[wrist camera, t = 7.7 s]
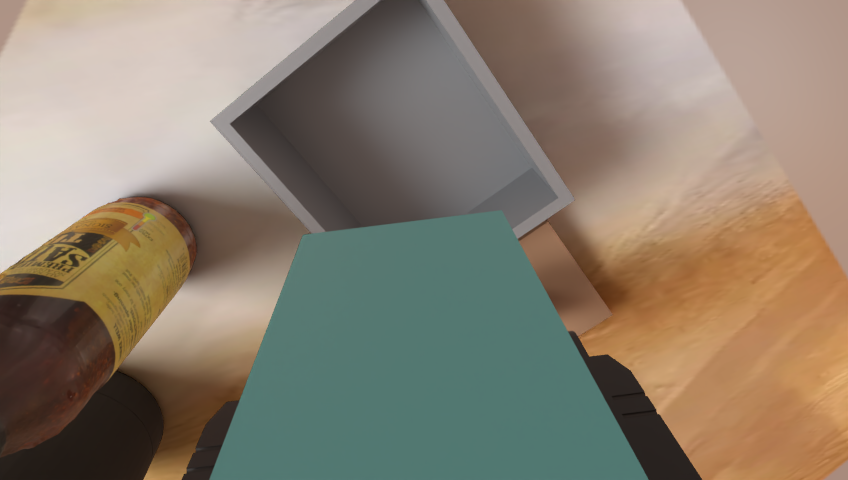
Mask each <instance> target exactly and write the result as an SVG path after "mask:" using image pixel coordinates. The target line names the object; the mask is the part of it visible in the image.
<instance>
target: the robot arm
mask: <svg viewBox="0 0 848 480" xmlns="http://www.w3.org/2000/svg"><path fill="white" fill-rule="evenodd" d="M568 333H569V335H570V336H571V338H572V340H573V342H574V344H575V346H576V347H577V349H578V351H579V353H580V355H581V357H582V358H583V360H584V362H585V364H586V366H587V368H588V369H589V371H590V373H591V375H592V377H593V379H594V380H595V382H596V384H597V386H598V388H599V390H600V391H601V393H602V395H603V397H604V399H605V401H606V402H607V404H608V406H609V408H610V410H611V412H612V413H613V415H614V417H615V419H616V421H617V423H618V424H619V426H620V428H621V430H622V432H623V434H624V435H625V437H626V439H627V441H628V443H629V445H630V446H631V448H632V450H633V452H634V454H635V456H636V457H637V459H638V461H639V463H640V465H641V467H642V468H643V470H644V472H645V474H646V476H647V478H648V479H649V480H702V479H701V477H700V476H699V474H698V473H697V471H696V469H695V468H694V466H693V465H692V463H691V462H690V460H689V459H688V457H687V456H686V454H685V453H684V451H683V450H682V448H681V447H680V445H679V444H678V442H677V441H676V439H675V438H674V436H673V435H672V433H671V431H670V430H669V428H668V427H667V425H666V424H665V422H664V421H663V419H662V418H661V416H660V415H659V414H658V415H657V412H656V409H655V407H654V406H653V404H652V403H651V401H650V400H649V398H648V396H645V393H644V390H643V389H642V387H641V386H640V384H639V383H638V381H637V380H636V378H635V377H634V375H633V374H632V372H631V371H630V370H629V369H627V368H626V367H625V366H623V365H622V364H620V363H619V362H617V361H616V360H615V359H613V358H612V357H610V356H609V355H608V354H607V355H599V356H591V357H589V355H588V354H587V352H586V350H585V348H584V347H583V345H582V343H581V341H580V340H579V338H578V336H577V334H576V333H575V332H574V331H568ZM239 401H240V400H239ZM239 401H231V402H226V403H225V404H224V405H223V407H222V408H221V409H220V410H219V411H218V412H217V413H216V414H215V415H214V416H213V417H212V418H211V419H210V420H209V421H208V423H207V424H206V425H205V428H204V430H203V432H202V435H201V437H200V439H199V441H198V444H197V446H196V453H193V455H192V457H191V460H190V462H189V464H188V467H187V473H186V474H184V476H183V478H182V480H209V479H210V477H211V474H212V471H213V469H214V466H215V464H216V461H217V458H218V456H219V453H220V450H221V448H222V445H223V443H224V440H225V437H226V435H227V432H228V429H229V427H230V424H231V422H232V419H233V416H234V414H235V411H236V409H237V406H238V403H239Z"/></svg>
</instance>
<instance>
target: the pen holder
mask: <svg viewBox="0 0 848 480" xmlns="http://www.w3.org/2000/svg"><path fill="white" fill-rule="evenodd" d="M163 429H164V424H163V417H162V413H161V410H160V408H159V406H158V404H157V402H156V400H155V399H154V397H153V396H152V395H151V393H150V392H149V391H148V390H147V389H146V388H145V387H144V386H142V385H141V384H140V383H139V382H137V381H136V380H134V379H133V378H131V377H129V376H127V375H125V374H122V373H120V372H117V371H115V372H114V374H113V375H112V376H111V377H110V379H109V380H108V381H107V382H106V383H105V384H104V385H103V386H102V387H101V388H100V389H99V390H97V391H96V392H95V393H94V394H93V395H92V397H91V398H90V400H89V401H88V403H87V404H86V405H85V406H84V408H83V409H82V410H81V411H80V412H79V414H78V415H77V417H75V419H74V420H72V421H71V422H70V423H69V424H68V425H67V426H66V427H65V428H64V429H63V430H62V431H61V432H60V433H59V434H58V435H56V436H54V437H52V438H50V439H48V440H46V441H44V442H42V443H40V444H38V445H37V446H35V447H33V448H30V449H22V450H19V451H17V452H15V453H12V454H8V455H6V456H4V457H1V458H0V480H143V479H144V477H145V475H146V473H147V471H148V468H149V466H150V464H151V461H152V459H153V457H154V455H155V453H156V450H157V448H158V446H159V444H160V441H161V438H162V435H163Z"/></svg>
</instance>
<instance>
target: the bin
mask: <svg viewBox="0 0 848 480" xmlns="http://www.w3.org/2000/svg"><path fill="white" fill-rule="evenodd" d="M210 122H211V123H212V124H213V125H214V126H215V127H216V129H217V130H218V131H219V132H220V133H221V134H222V135H223V136H224V137H225V139H226V140H227V141H228V142H229V143H230V144H231V145H232V146H233V147H234V148H235V150H236V151H237V152H238V153H239V154H240V155H241V156H242V157H243V158H244V159H245V161H246V162H247V163H248V164H249V165H250V166H251V167H252V168H253V169H254V170H255V172H256V173H257V174H258V175H259V176H260V177H261V178H262V179H263V180H264V181H265V183H266V184H267V185H268V186H269V187H270V188H271V189H272V190H273V191H274V193H275V194H276V195H277V196H278V197H279V198H280V199H281V200H282V201H283V202H284V204H285V205H286V206H287V207H288V208H289V209H290V210H291V211H292V212H293V213H294V215H295V216H296V217H297V218H298V219H299V220H300V221H301V222H302V223H303V224H304V226H305V227H306V228H307V229H308V230H309V231H310V232H311V233H312V234H313V233H321V232H329V231H337V230H345V229H353V228H361V227H370V226H378V225H386V224H394V223H402V222H410V221H418V220H426V219H434V218H442V217H451V216H459V215H467V214H475V213H483V212H491V211H499V210H502V212H503V213H504V215H505V217H506V219H507V221H508V223H509V224H510V226H511V228H512V230H513V232H514V234H515V235H516V237H517V239H518V238H520V237H521V236H523V235H524V234H526V233H527V232H529V231H530V230H531V229H533V228H534V227H536V226H537V225H539V224H540V223H542V222H543V221H545V220H546V219H548V218H549V217H551V216H552V215H554V214H555V213H557V212H558V211H560V210H561V209H563V208H564V207H566V206H567V205H569V204H570V203H572V202H573V201H575V199H574V197H573V196H572V194H571V193H570V191H569V189H568V188H567V186H566V185H565V183H564V182H563V180H562V179H561V177H560V176H559V174H558V173H557V171H556V170H555V168H554V167H553V165H552V164H551V162H550V161H549V159H548V158H547V156H546V155H545V153H544V151H543V150H542V148H541V147H540V145H539V144H538V142H537V141H536V139H535V138H534V136H533V135H532V133H531V132H530V130H529V129H528V127H527V126H526V124H525V123H524V121H523V120H522V118H521V117H520V115H519V113H518V112H517V110H516V109H515V107H514V106H513V104H512V103H511V101H510V100H509V98H508V97H507V95H506V94H505V92H504V91H503V89H502V88H501V86H500V85H499V83H498V82H497V80H496V79H495V77H494V75H493V74H492V72H491V71H490V69H489V68H488V66H487V65H486V63H485V62H484V60H483V59H482V57H481V56H480V54H479V53H478V51H477V50H476V48H475V47H474V45H473V44H472V42H471V41H470V39H469V37H468V36H467V34H466V33H465V31H464V30H463V28H462V27H461V25H460V24H459V22H458V21H457V19H456V18H455V16H454V15H453V13H452V12H451V10H450V9H449V7H448V6H447V4H446V3H445V1H444V0H355V1H354V2H353V3H352V4H350V5H349V6H348V7H347V8H346V9H344V10H343V11H342V12H341V13H339V14H338V15H337V16H336V17H335V18H333V19H332V20H331V21H330V22H329V23H327V24H326V25H325V26H324V27H323V28H321V29H320V30H319V31H318V32H317V33H315V34H314V35H313V36H312V37H311V38H309V39H308V40H307V41H306V42H305V43H303V44H302V45H301V46H300V47H299V48H297V49H296V50H295V51H294V52H293V53H291V54H290V55H289V56H288V57H287V58H285V59H284V60H283V61H282V62H281V63H279V64H278V65H277V66H276V67H274V68H273V69H272V70H271V71H270V72H268V73H267V74H266V75H265V76H264V77H262V78H261V79H260V80H259V81H258V82H256V83H255V84H254V85H253V86H252V87H250V88H249V89H248V90H247V91H246V92H244V93H243V94H242V95H241V96H240V97H238V98H237V99H236V100H235V101H234V102H232V103H231V104H230V105H229V106H228V107H226V108H225V109H224V110H223V111H222V112H220V113H219V114H218V115H217V116H216V117H214V118H213V119H212V120H211V121H210Z"/></svg>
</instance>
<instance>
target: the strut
mask: <svg viewBox="0 0 848 480" xmlns="http://www.w3.org/2000/svg"><path fill="white" fill-rule="evenodd" d="M209 480H649V479H648V478H647V476H646V474H645V472H644V470H643V468H642V467H641V465H640V463H639V461H638V459H637V457H636V456H635V454H634V452H633V450H632V448H631V446H630V445H629V443H628V441H627V439H626V437H625V435H624V434H623V432H622V430H621V428H620V426H619V424H618V423H617V421H616V419H615V417H614V415H613V413H612V412H611V410H610V408H609V406H608V404H607V402H606V401H605V399H604V397H603V395H602V393H601V391H600V390H599V388H598V386H597V384H596V382H595V380H594V379H593V377H592V375H591V373H590V371H589V369H588V368H587V366H586V364H585V362H584V360H583V358H582V357H581V355H580V353H579V351H578V349H577V347H576V346H575V344H574V342H573V340H572V338H571V336H570V335H569V333H568V331H567V329H566V327H565V325H564V324H563V322H562V320H561V318H560V316H559V314H558V313H557V311H556V309H555V307H554V305H553V303H552V302H551V300H550V298H549V296H548V294H547V292H546V290H545V289H544V287H543V285H542V283H541V281H540V279H539V278H538V276H537V274H536V272H535V270H534V268H533V267H532V265H531V263H530V261H529V259H528V257H527V256H526V254H525V252H524V250H523V248H522V246H521V245H520V243H519V241H518V239H517V237H516V235H515V234H514V232H513V230H512V228H511V226H510V224H509V223H508V221H507V219H506V217H505V215H504V213H503V212H502V210H499V211H491V212H483V213H475V214H467V215H459V216H451V217H442V218H434V219H426V220H418V221H410V222H402V223H394V224H386V225H378V226H370V227H361V228H353V229H345V230H337V231H329V232H321V233H313V234H305V235H303V236H302V239H301V241H300V244H299V246H298V249H297V252H296V254H295V257H294V259H293V262H292V265H291V267H290V270H289V273H288V275H287V278H286V280H285V283H284V286H283V288H282V291H281V293H280V296H279V299H278V301H277V304H276V307H275V309H274V312H273V314H272V317H271V320H270V322H269V325H268V327H267V330H266V333H265V335H264V338H263V341H262V343H261V346H260V348H259V351H258V354H257V356H256V359H255V361H254V364H253V367H252V369H251V372H250V375H249V377H248V380H247V382H246V385H245V388H244V390H243V393H242V395H241V398H240V401H239V403H238V406H237V409H236V411H235V414H234V416H233V419H232V422H231V424H230V427H229V429H228V432H227V435H226V437H225V440H224V443H223V445H222V448H221V450H220V453H219V456H218V458H217V461H216V464H215V466H214V469H213V471H212V474H211V477H210V479H209Z"/></svg>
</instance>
